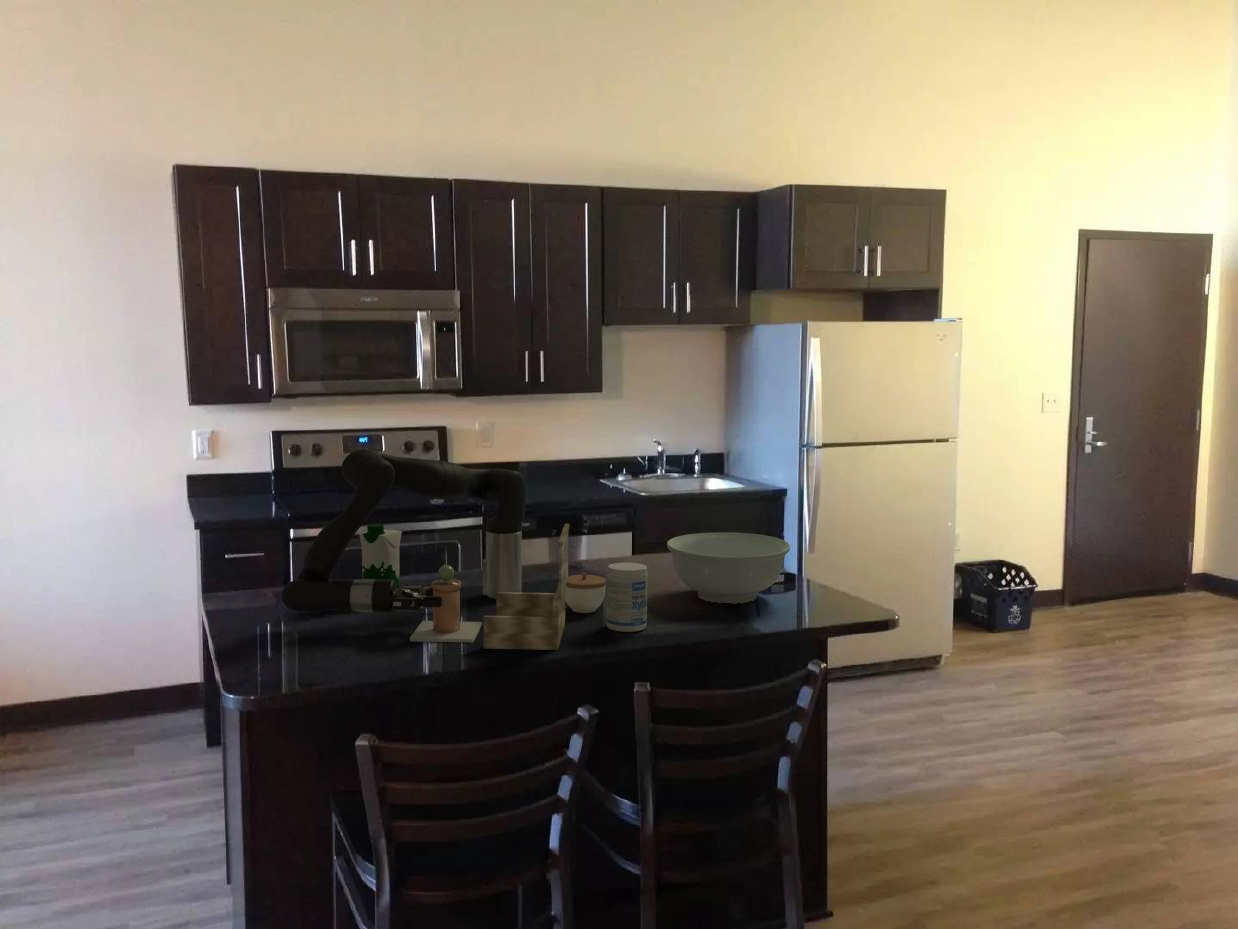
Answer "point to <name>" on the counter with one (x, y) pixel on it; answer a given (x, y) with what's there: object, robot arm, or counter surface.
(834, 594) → the counter surface
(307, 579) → the robot arm
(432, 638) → the paving slab
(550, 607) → the cold frame
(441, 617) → the terracotta pot
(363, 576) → the milk carton
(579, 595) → the lidded jar
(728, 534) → the bowl
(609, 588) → the supplement tub
